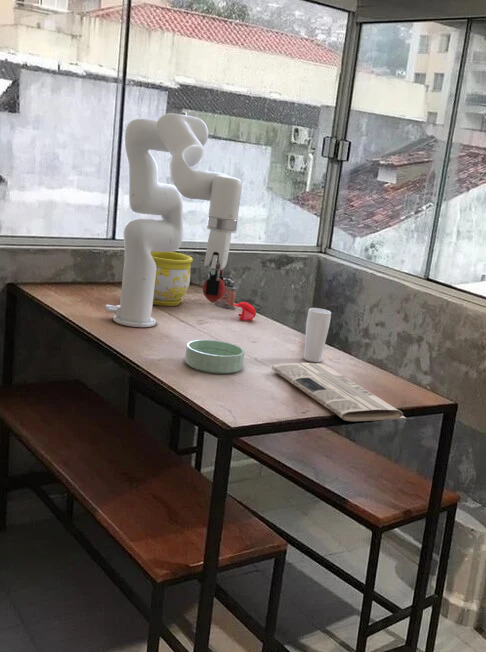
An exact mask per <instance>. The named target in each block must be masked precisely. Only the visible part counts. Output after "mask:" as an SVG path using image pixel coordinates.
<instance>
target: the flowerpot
mask: <svg viewBox="0 0 486 652" xmlns="http://www.w3.org/2000/svg"><path fill="white" fill-rule="evenodd" d="M150 253H151V256H152V257H153V259H154V261H155V264H156V278H155V287H154V296H153V305H154V306H161V307H162V306H163V307H176V306H178V305H180V303H182V302H183V297H184V295H185V294H187V291H188V290H189V286H190V283H191V268H192V265H191V264H192V263H193V261H194V259H193V257H191V256H190V255H187V254H184V253H180V252H176V251H174V252H158V251H155V252H150Z"/></svg>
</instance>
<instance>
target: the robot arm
mask: <svg viewBox="0 0 486 652" xmlns="http://www.w3.org/2000/svg"><path fill="white" fill-rule="evenodd" d="M208 140H209V129H208V126H207V124H206V122H205V120H203V119H201V118H200V117H197V116H194V115H193V116H192V115H186V114H181V113H174V112H169V113H165V114H163V115H161V116H160V117H159V118H158V119H150V118H135V119H132V120H131V121H129V122H128V123H127V124H126V127H125V129H124V134H123V146H124V152H125V156H126V161H127V168H128V177H127V178H128V205H129V208H130V210H131V211H132V212H134V213H137V214H141V215H153V216H161V217H160V218H161V219H155V218H142V217H141V218H139V217H138V218H133V219H130V220H129V221H127V222H126V223H125V225H124V228H123V244H124V259H123V271H122V280H121V289H120V291H121V292H120V300H119V305H118V304H117V305H112V304H105V308H104V310H105V312H107V313H109V314H110V313H111V314H112V313H113V314H114V315H113V317H112V319H113V322H114V323H116V324H119V325H122V326H125V327H133V328H150V327H154V326H156V324H157V320H156V319H155V318H154V317H153V316H152V313H153V305H154V304H153V296H154V287H155V278H156V264H155V261H154V259H153V257H152V256H151V253H150V252H155V251H158V252H176V251H178V250H179V249H180V247H181V246H182V242H183V236H184V235H183V234H184V233H183V231H184V229H183V227H184V226H183V225H184V224H183V223H184V221H183V219H184V217H183V214H184V212H183V211H184V209H183V208H184V207H183V206H184V205H183V197H184V198H187V199H190V200H199V201H202V200H203V201H209V205H208V206H209V207H208V214H207V222H206V223H207V224H206V229H207V230H209V233H208V238H207V243H206V252H205V257H204V264H203V266H204V268H208V267H209V269H208V275H207V279H206V280H207V285H206V294H208V295H215V296H217V295H218V291H219V283H220V281H219V278H220V279H221V280H222V281H223V278H224V268H225V267H226V266H227V265H228V264H227V263H228V259H229V254H230V246H231V241H232V239H231V238H232V234H235V233H237V228H238V219H239V212H240V204H241V196H242V189H243V182H242V180H241V179H240V178H238V177H234V176H230V175H228V174H225V173H223V172H217V171H211V170H204V169H203V170H202V169H193V168H191V167H193V166H195V165H196V164H198V163H199V162H200V161H201V160H202V158H203V155H204V146H205V145H206V144H207V142H208ZM150 151H156V152H165V153H169V154H170V156H171V159H170V163H169V175H170V176H169V177H170V180H171V182H172V183H173V184H171V183H164V182H163V183H162V182H159V166H158V164H157V162H156V159H155V158H154V156H153V154H152V153H151V152H150Z"/></svg>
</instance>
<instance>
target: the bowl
mask: <svg viewBox="0 0 486 652" xmlns="http://www.w3.org/2000/svg"><path fill="white" fill-rule="evenodd" d="M245 353H246V351H245V349H244V348H243V347H241V346H239V345H237V344H235V343H232V342H227V341H223V340H216V339H215V340H214V339H195V340H191V341H189V342H187V343H186V347H185V356H184V362H185V364H187V365H188V366H189V367H190V368H192V369H195V370H197V371H200V372H204V373H210V374H216V375H217V374H220V375H221V374H222V375H224V374H226V375H228V374H234V373H237V372H239V371H241V370H242V369H243V367H244V360H245V355H246V354H245Z"/></svg>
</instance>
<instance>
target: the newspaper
mask: <svg viewBox="0 0 486 652" xmlns="http://www.w3.org/2000/svg"><path fill="white" fill-rule="evenodd" d="M271 370H272V371H273V372H275V373H276V374H277V375H279V376H280V377H282V378H283V379H284V380H286V381H288V382H289V383H290V384H292V385H293V386H294V387H296V388H298V389H299V390H300V391H302V392H303V393H305V394H306V395H307V396H309V397H311V398H312V399H313V400H314V401H316V402H317V403H319V404H320V405H322V406H323V407H325V408H326V409H328V410H329V411H331V412H332V413H333V414H335V415H336V416H337V417H338V418H340V419H342V420H343V421H347V422H368V421H369V422H371V421H390V420H391V421H393V420H399V419H407V417H405V416H404V412H402V411H401V410H399V409H397V408H396V407H394V406H392V405H391V404H389V403H388V402H387V401H385V400H383V399H382V398H379V397H378V396H377V395H375V394H373V393H372V392H370V391H368V390H366V389H365V388H363V387H362V386H361V385H359V384H357V383H356V382H354V381H352V380H351V379H349V378H348V377H346V376H344V375H343V374H341V373H339V372H337V371H336V370H334V369H333V368H331V367H329V366H328V365H326V364H324V363H318V362H290V363H289V362H288V363H287V362H286V363H285V362H284V363H276V364H273V365H272V366H271Z"/></svg>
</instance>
